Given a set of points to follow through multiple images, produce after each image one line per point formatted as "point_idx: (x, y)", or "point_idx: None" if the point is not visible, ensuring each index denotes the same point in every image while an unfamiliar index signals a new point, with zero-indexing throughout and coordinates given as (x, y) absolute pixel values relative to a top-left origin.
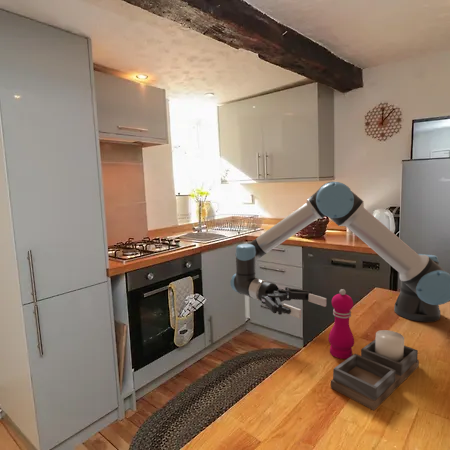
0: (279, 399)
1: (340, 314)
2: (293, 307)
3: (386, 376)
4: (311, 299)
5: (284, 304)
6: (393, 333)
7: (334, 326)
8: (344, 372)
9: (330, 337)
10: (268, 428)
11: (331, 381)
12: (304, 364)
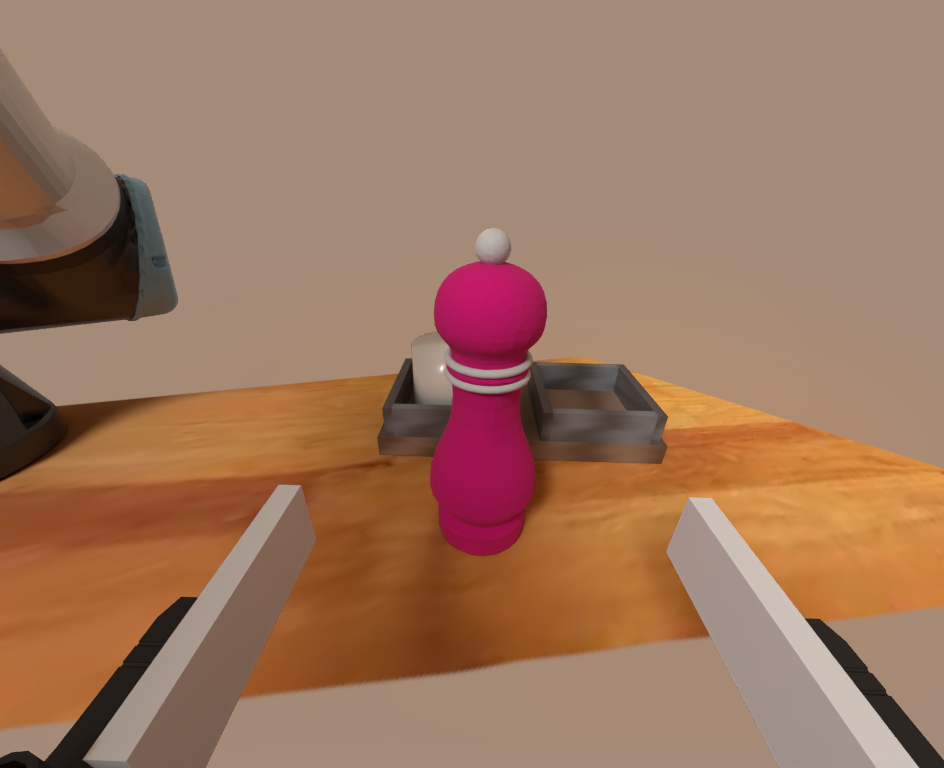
0: (862, 519)
1: (527, 351)
2: (755, 570)
3: (567, 364)
4: (208, 712)
5: (897, 751)
6: (426, 342)
7: (515, 435)
8: (648, 400)
9: (531, 482)
10: (915, 481)
11: (666, 446)
12: (676, 573)
